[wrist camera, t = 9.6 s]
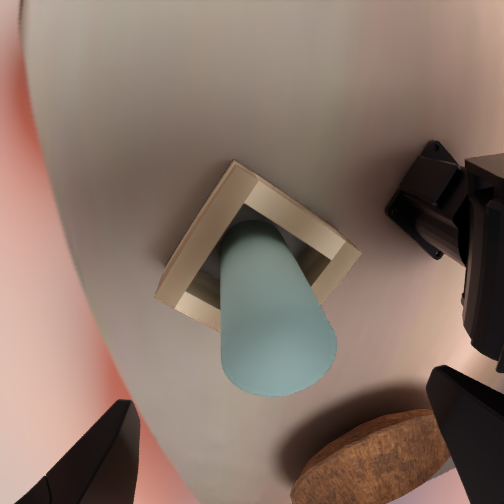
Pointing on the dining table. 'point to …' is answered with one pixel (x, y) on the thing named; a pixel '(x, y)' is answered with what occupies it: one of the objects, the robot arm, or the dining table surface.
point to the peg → (269, 315)
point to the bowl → (374, 461)
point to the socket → (238, 210)
